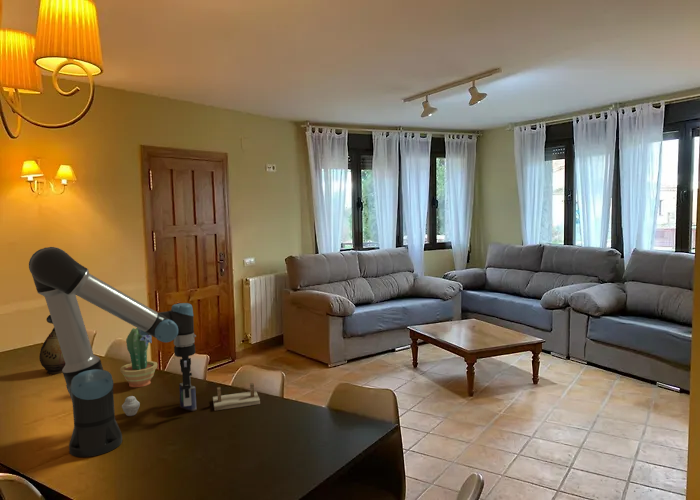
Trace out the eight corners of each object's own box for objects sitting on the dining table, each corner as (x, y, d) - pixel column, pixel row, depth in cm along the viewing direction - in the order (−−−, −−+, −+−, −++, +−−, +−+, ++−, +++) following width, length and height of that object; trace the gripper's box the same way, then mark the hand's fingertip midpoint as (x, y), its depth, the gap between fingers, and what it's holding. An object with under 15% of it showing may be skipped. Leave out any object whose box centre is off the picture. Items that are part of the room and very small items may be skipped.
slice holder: (260, 403, 190) (259, 387, 189) (214, 410, 184) (213, 393, 184) (256, 394, 200) (255, 378, 200) (213, 400, 195) (212, 384, 194)
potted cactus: (127, 392, 207) (123, 334, 205) (116, 383, 218) (112, 328, 216) (164, 383, 217) (160, 327, 215) (151, 375, 228) (148, 322, 227)
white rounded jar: (133, 418, 180) (132, 399, 179) (118, 417, 181) (117, 398, 180) (143, 411, 186) (142, 393, 185) (129, 410, 187) (128, 392, 186)
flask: (198, 409, 186) (196, 382, 185) (191, 412, 184) (189, 384, 183) (184, 404, 192) (182, 377, 191) (177, 406, 189) (176, 379, 189)
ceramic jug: (65, 375, 232) (61, 313, 230) (33, 376, 232) (28, 313, 230) (85, 364, 249) (81, 306, 246) (55, 365, 249) (51, 307, 247)
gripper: (195, 351, 175) (198, 409, 177) (194, 335, 199) (197, 387, 200) (173, 354, 173) (176, 412, 174) (174, 338, 197) (177, 389, 198)
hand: (187, 399), depth 187 cm, fingers open, 13 cm apart
